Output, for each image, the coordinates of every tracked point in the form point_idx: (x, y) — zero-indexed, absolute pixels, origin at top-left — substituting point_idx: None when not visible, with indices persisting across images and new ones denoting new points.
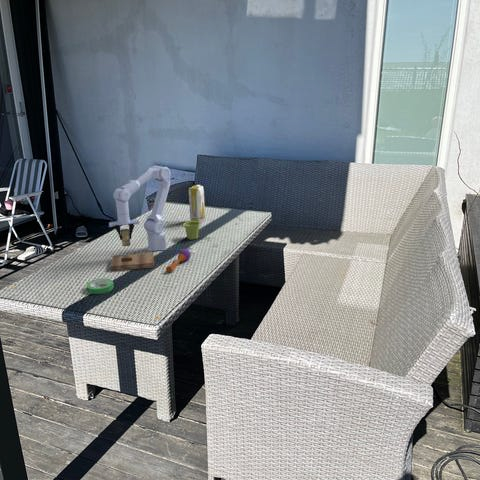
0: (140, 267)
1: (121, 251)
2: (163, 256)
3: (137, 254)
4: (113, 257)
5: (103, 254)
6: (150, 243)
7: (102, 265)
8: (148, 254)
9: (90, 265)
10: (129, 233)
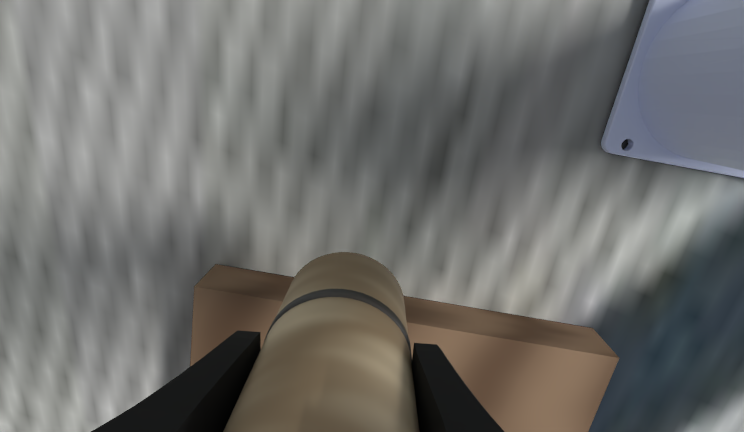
0: None
1: (310, 6)
2: (681, 340)
3: (450, 346)
4: (202, 334)
5: (98, 29)
6: (708, 138)
7: (123, 340)
8: (555, 385)
9: (14, 302)
10: (429, 425)
